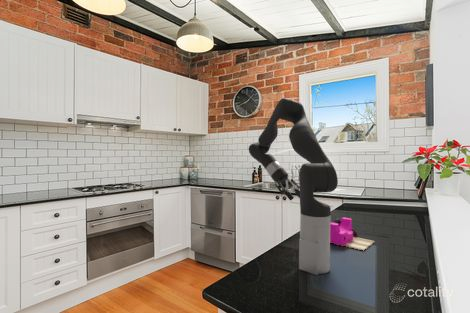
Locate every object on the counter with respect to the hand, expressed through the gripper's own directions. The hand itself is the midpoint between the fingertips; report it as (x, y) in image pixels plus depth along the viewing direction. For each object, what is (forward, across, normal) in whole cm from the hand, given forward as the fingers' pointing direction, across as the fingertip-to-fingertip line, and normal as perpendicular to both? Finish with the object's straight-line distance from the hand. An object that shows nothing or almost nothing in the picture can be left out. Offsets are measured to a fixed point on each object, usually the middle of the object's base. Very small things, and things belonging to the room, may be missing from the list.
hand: (297, 198), depth 128 cm
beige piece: (+25, 0, -4) cm, 25 cm away
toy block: (+26, 0, -5) cm, 26 cm away
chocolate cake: (+25, +11, -3) cm, 27 cm away
